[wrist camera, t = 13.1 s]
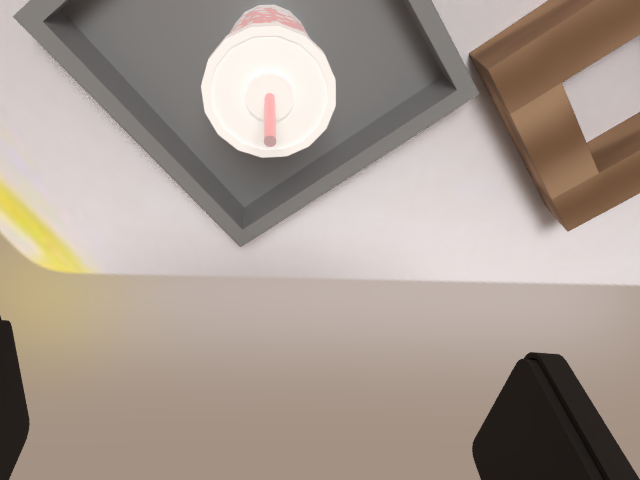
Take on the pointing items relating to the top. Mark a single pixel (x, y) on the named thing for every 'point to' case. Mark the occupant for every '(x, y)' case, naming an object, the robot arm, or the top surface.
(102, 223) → the top surface
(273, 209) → the tray
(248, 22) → the beverage cup
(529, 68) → the square wooden frame block
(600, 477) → the robot arm
